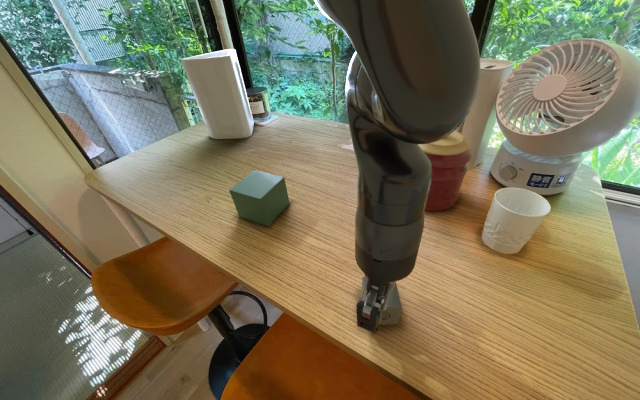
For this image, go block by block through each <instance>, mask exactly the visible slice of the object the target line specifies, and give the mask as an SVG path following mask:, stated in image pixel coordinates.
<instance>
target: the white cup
mask: <svg viewBox="0 0 640 400" xmlns="http://www.w3.org/2000/svg"><path fill="white" fill-rule="evenodd" d="M551 211H552V207H551V204H550V202H549V201H548V200H547V199H546V198H545V197H543V196H542V195H540V194H538V193H536V192H535V191H532V190H529V189H525V188H521V187H512V186H511V187H502V188H500V189H498V190H496V191H495V193H494V195H493V197H492V200H491V204H490V206H489V209H488V212H487V214H486V218H485V221H484V224H483V228H482V231H481V237H480V238H481V240H482V242H483V243H484V244H485V246H487V247H488V248H489V249H491V250H493V251H495V252H497V253H499V254H505V255H514V254H518V253H519V252H520V251H521V250H522V249H523V248H524V246H525V245H526V243H528V242H529V241H530V239H531V238H532V237H533V236H534V234H535V233H536V232H537V230H538V229H539V227H540V226H541V225H542V223H543V222H544V220H545V219H546V218H547V216H548V215H549V214H550V212H551Z"/></svg>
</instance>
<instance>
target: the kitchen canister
mask: <svg viewBox="0 0 640 400" xmlns="http://www.w3.org/2000/svg"><path fill="white" fill-rule="evenodd" d="M418 145H419V146H420V148H421V149H422V150H423V152H424V153H425V154H426V155H427V157H428V158H429V160H430V162H431V164H432V181H431V186H430V190H429V194H428V199H427V203H426V208H425V211H429V212H430V211H432V212H433V211H434V212H436V211H444V210H447V209H449V208H451V207H453V206H454V205H455V204H456V202H457V201H458V199H459V197H460V194H461V187H462V184H463V182H464V178H465V175H466V174H467V172H468V166H467V164H468V163H469V162H470V161H471V159H472V155H473V154H472V151H471V150H470V147H471V141H470V140H469V139H468V138H467V137H466V136H464V135H463V134H462V133H461V132H458V131H457V130H455V131H454V132H452V133H451V134H450V135H448V136H447V137H445V138H443V139H441V140H438V141H436V142H433V143H429V144H418Z"/></svg>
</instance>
